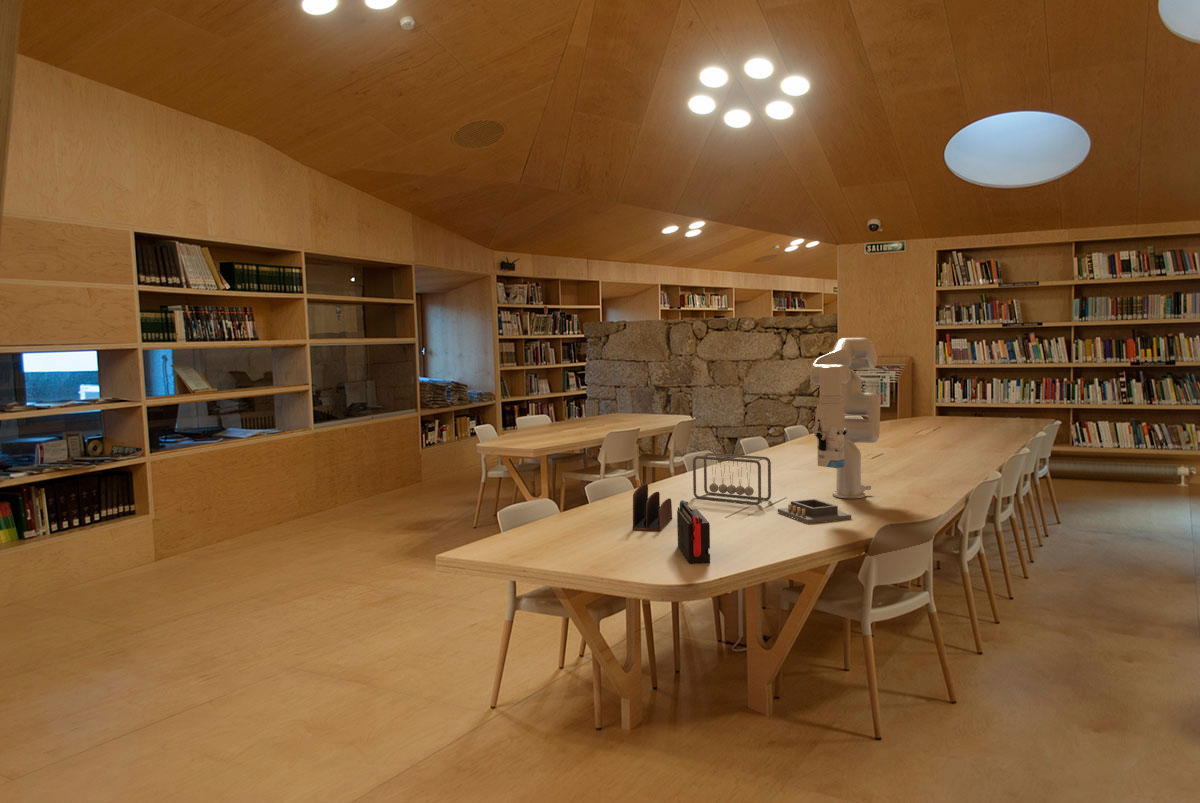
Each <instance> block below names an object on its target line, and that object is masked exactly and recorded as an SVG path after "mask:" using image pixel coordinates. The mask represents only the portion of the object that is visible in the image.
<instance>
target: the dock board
mask: <svg viewBox="0 0 1200 803" xmlns="http://www.w3.org/2000/svg"><path fill="white" fill-rule="evenodd" d="M778 512H779V513H778ZM777 513H778V514H780V513H782V514H784V515H783V516H785V515H787V516H786V517H788V516H790V517H789V518H791V517H793V518H795V519H794V520H796V519H798V520H797V521H799V520H800V522H801V521H803V522H802V523H804V522H806V523H805V524H807V523H811V524H816V523H815V522H820V523H826V522H825V521H829V522H835V521H834V520H838V521H844V520H843V519H847V520H852V514H850V513H847V512H843V511H840V510H838V505H835V504H832V503H829V502H826V501H822V500H820V499H818V498H817V499H816V498H812V499H811V498H810V499H800V500H791V501H790V503H788V504H787V507H783V508H777ZM782 514H781V515H782ZM793 518H792V519H793Z"/></svg>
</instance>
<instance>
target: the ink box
mask: <svg viewBox="0 0 1200 803" xmlns="http://www.w3.org/2000/svg"><path fill="white" fill-rule="evenodd" d="M820 428H821V427H820ZM819 431H820V430H819ZM819 431H818V432H819ZM822 434H823V433H822ZM824 440H826V451H821V450H819V439H817V441H816V442H817V444H816V445H817V467H823V468H831V469H832V468H833V469H837V468H840V467H844V435H840V434H837V428H836V427H831V428H830V432H827V433H826V436H825V439H824Z"/></svg>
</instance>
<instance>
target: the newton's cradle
mask: <svg viewBox="0 0 1200 803" xmlns="http://www.w3.org/2000/svg"><path fill="white" fill-rule="evenodd" d="M697 459H698V460H703V487H704V493H705V494H703V495H698V494H697V469H696V468H697V467H696V466H697V465H696V464H697V462H696V461H697ZM707 460H709V461H710V460H711V461H716V462H715V464H717V461H719V465H720V467H722V463H721V462H722V461H724V462H733V464H732V466H734V463H735V462H736V464H737V465H736V466H739V463H745V467H746V469H748V467H747V464H748V463H750V466H749V467H750V468H749V472H751V470H752V469H751V467H752V464H754V463H755V464H756V465H757V486H758V487H757V496H753V494H754V492H755V491H754V488H753V487H752V486H750V484H751V479H749V478H748V477H749V475H748V473H746V478H747V479H748V483H747V486H746V487H744V486H743V485H742V482H741V480H738V482H739V484H738V486H735V485H734V484H733V483H730V484H729V485H728V486H727V484H725V479H722V480H721V484H720V485H718V483H715V482H716V481H715V480H716V478H713V479H712V483H711V484H710V485H709V491H708V481H707V480H708V476H707V475H708V472H707V467H708V466H707ZM763 460H765V461H767V494H768V495H767V497H762V464H761V463H760V461H763ZM771 464H772V462H771V460H770V458H769V457H767V456H761V455H758V456H757V455H741V454H728V453H715V452H714V453H713V452H708V453H704V455H697V456H694V457H693V459H692V479H693V480H692V485H693V486H692V487H693V489H692V490H693V496H694V498H696V499H697V500H706V499H708V500H709V501H715V500H716V502H725V501H727V502H728V503H734V502H736V504H743V503H747V504H746V505H753V504H758V505H760V504H761V502H764V501H765V500H767V501H769V500H770V499H771V497H772V486H771V485H772V478H771V477H772V473H771V472H772V471H771V469H772V468H771V467H772V466H771ZM716 469H717V468H715V472H714V471H713V467H711V470H712V474H716V471H717V470H716ZM728 469H729V472H731V468H730V466H728ZM725 470H726V465H724V469H723V472H722V470H720V472H721V476H723V473H725ZM737 472H738V473H737V474H738V476H742V473H743V468H741V471H740V472H739V470H738V471H737ZM731 477H732V478H731ZM733 477H734V473H732V476H729V479H730V481H734V480H733ZM744 494H745V495H744ZM715 495H717V496H718V497H717V496H716V497H711V496H715ZM725 496H727V498H722V497H725ZM719 497H720V498H719ZM735 497H737V499H730V498H735ZM745 498H748V500H751V501H748V500H740V499H745ZM755 499H758V500H756V501H752V500H755Z"/></svg>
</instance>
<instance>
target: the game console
mask: <svg viewBox="0 0 1200 803" xmlns="http://www.w3.org/2000/svg"><path fill="white" fill-rule="evenodd" d="M676 512H677V514H676V516H677V525H676V528H677V548H678V549H679V551H680V553H681V555H682V556H683V557H684V558H685V561H686V562H687V563H689V564H690V565H691V564H711V553H710V551H709V550H710V549H711V539H710V538H711V532H710V530H711V528H710V521H708V520H707V519H706V517H705V516H704V515H703V514H702V513H701V512H700V510H698V509H695V508H693V509H692V508H691V507H690V505H689V501H686V500H683V499H682V500H680V501H679V507H677V509H676Z"/></svg>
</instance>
